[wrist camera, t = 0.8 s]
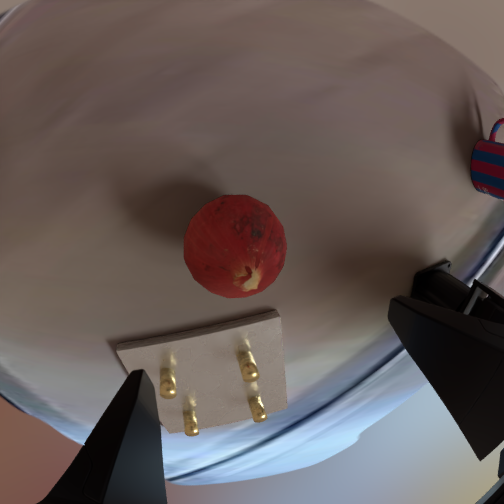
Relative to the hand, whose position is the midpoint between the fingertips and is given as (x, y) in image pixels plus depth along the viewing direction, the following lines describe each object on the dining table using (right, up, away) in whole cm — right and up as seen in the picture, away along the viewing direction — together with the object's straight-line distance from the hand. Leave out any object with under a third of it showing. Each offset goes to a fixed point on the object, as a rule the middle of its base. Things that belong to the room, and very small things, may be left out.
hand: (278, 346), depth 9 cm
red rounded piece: (-3, +5, +11) cm, 12 cm away
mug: (+28, +15, +14) cm, 35 cm away
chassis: (-5, -10, +16) cm, 19 cm away
